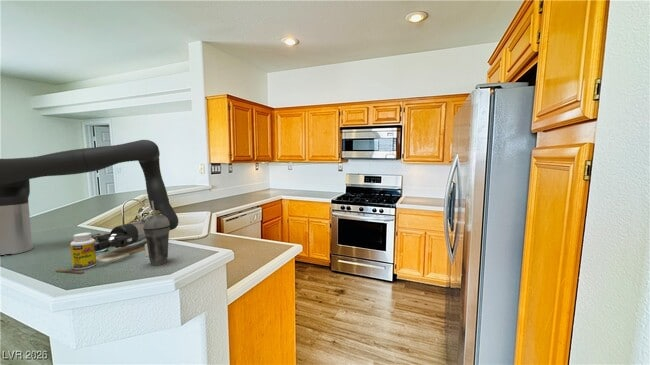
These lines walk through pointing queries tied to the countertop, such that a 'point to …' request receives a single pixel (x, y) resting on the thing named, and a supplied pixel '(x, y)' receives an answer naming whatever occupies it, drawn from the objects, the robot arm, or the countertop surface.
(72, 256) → the supplement bottle
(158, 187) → the robot arm
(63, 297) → the countertop surface
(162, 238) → the beverage cup
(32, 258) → the countertop surface
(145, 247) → the die
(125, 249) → the game track
